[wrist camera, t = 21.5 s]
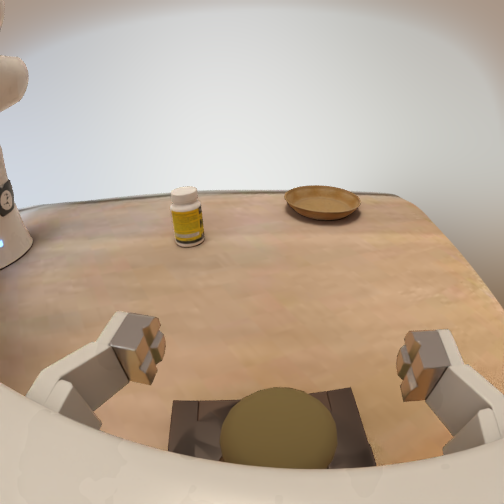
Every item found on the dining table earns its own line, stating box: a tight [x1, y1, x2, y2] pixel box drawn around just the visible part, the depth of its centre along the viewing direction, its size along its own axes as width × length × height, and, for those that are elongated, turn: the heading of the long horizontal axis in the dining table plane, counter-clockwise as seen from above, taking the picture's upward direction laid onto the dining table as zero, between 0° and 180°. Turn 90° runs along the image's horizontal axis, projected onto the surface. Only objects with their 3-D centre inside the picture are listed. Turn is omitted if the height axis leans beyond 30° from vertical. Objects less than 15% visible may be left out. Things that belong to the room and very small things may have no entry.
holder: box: [168, 388, 376, 469], centre depth 15 cm, size 14×14×2 cm
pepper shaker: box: [219, 387, 338, 469], centre depth 13 cm, size 6×6×11 cm
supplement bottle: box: [170, 186, 204, 247], centre depth 45 cm, size 5×5×8 cm
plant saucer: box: [284, 186, 361, 220], centre depth 56 cm, size 15×15×3 cm
